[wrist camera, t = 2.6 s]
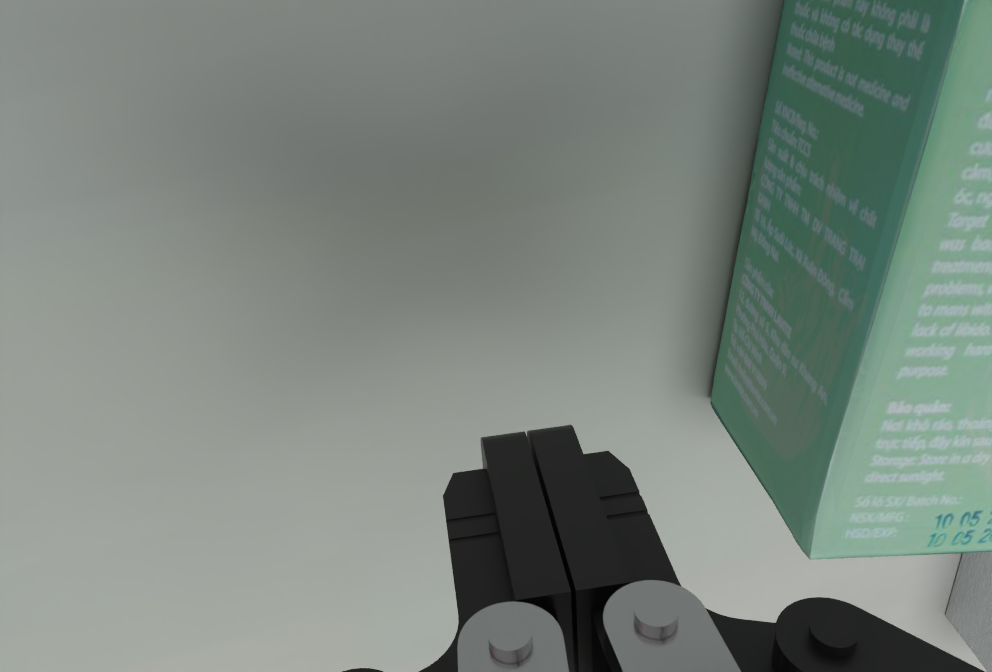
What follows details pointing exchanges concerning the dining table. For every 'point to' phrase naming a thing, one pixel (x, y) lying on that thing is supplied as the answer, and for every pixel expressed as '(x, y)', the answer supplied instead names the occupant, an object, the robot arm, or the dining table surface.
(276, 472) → the dining table surface
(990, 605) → the sliding jaw
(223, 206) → the dining table surface
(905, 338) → the box
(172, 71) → the dining table surface
